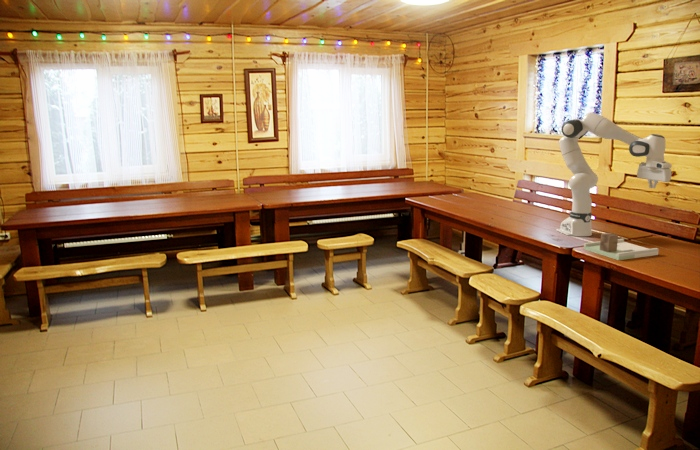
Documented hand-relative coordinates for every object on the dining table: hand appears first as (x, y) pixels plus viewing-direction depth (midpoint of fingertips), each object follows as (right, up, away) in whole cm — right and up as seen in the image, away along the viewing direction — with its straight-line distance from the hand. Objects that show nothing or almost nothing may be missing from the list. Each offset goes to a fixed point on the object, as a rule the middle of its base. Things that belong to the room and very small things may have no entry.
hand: (652, 187), depth 329 cm
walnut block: (-31, -35, -13) cm, 49 cm away
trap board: (-22, -36, -9) cm, 43 cm away
